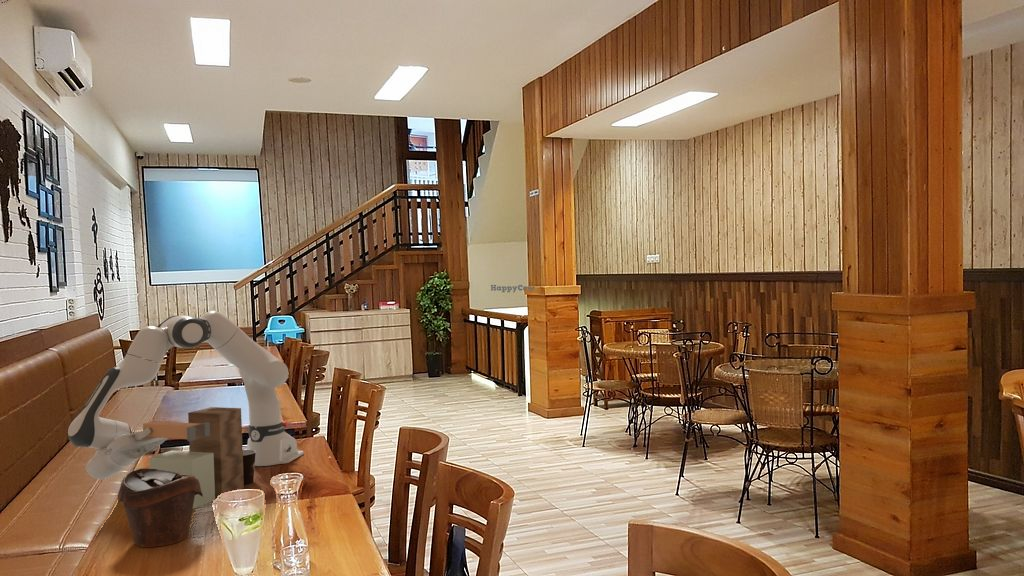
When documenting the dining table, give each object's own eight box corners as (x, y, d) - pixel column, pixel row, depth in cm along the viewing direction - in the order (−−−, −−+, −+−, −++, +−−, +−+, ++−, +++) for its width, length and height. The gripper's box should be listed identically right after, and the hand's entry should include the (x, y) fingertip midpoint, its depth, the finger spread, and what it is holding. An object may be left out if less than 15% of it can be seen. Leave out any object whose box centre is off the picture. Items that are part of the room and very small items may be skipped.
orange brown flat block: (158, 432, 227) (158, 419, 227) (210, 435, 221) (209, 422, 221) (137, 438, 220) (137, 425, 220) (190, 441, 213) (190, 427, 213)
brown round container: (199, 545, 183) (197, 474, 183) (111, 557, 177) (108, 483, 177) (208, 524, 200) (205, 459, 200) (128, 534, 194) (125, 467, 194)
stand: (213, 486, 237) (210, 407, 237) (243, 488, 233) (241, 408, 233) (191, 495, 228) (188, 412, 227) (222, 497, 224) (219, 414, 224)
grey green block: (173, 496, 227) (172, 450, 227) (215, 499, 222) (213, 452, 221) (150, 505, 218) (149, 457, 218) (193, 509, 213) (191, 460, 213)
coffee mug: (247, 486, 235) (246, 456, 235) (223, 486, 237) (222, 455, 237) (266, 477, 246) (265, 447, 246) (243, 476, 248) (242, 447, 248)
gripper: (95, 446, 217) (125, 425, 213) (149, 432, 236) (178, 412, 232) (104, 465, 216) (134, 444, 212) (157, 449, 235) (186, 430, 232)
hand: (157, 427), depth 222 cm, fingers closed on orange brown flat block, 4 cm apart
